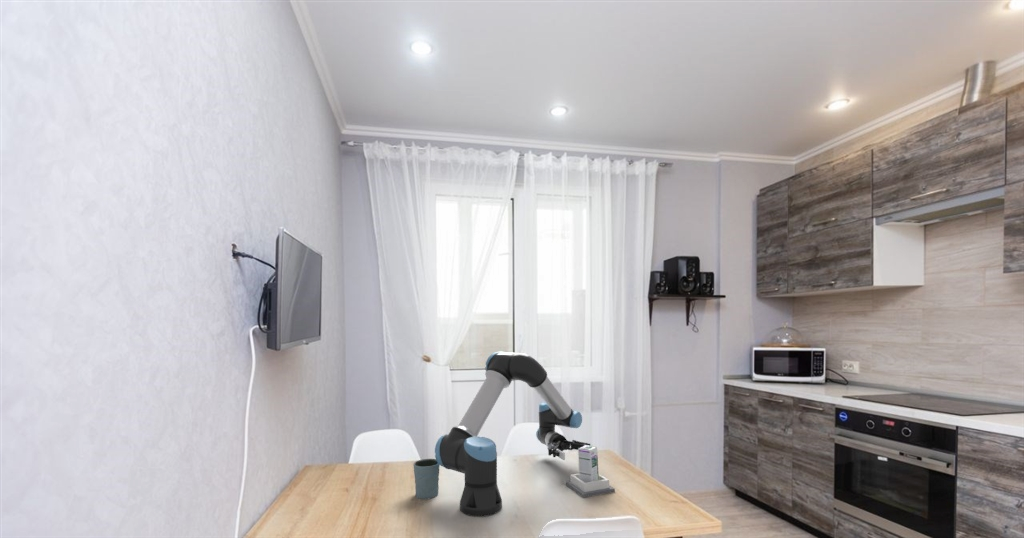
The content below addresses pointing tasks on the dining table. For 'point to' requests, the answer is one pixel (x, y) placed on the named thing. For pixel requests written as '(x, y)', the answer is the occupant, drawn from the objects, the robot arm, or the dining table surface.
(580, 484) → the socket plate
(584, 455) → the syrup box
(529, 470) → the dining table surface
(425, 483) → the teal cup
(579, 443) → the robot arm
